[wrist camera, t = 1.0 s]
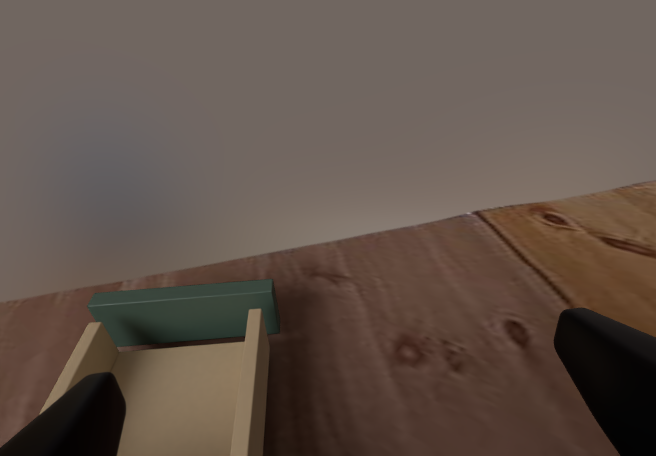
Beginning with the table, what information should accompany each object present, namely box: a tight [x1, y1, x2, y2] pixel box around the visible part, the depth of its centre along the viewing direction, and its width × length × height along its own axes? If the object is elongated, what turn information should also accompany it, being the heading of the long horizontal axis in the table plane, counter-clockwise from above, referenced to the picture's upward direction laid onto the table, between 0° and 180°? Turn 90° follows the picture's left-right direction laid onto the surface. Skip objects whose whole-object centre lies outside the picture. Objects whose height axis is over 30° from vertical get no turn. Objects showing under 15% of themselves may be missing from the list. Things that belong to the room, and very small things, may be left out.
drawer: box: [39, 279, 280, 456], centre depth 21 cm, size 17×12×4 cm
